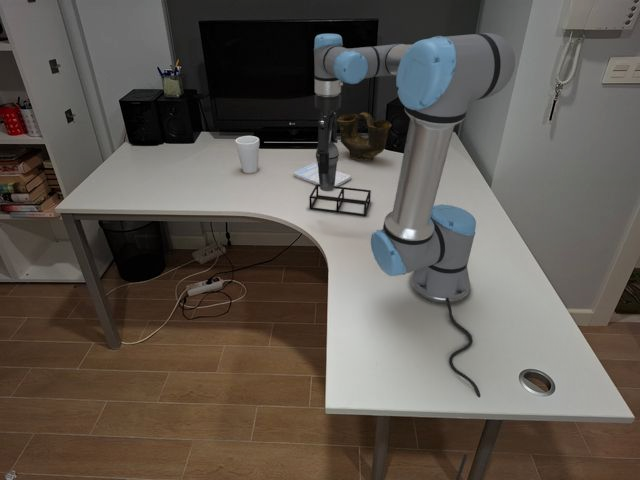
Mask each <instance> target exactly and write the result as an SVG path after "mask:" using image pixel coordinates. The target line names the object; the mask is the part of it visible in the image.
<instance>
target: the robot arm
mask: <svg viewBox="0 0 640 480" xmlns="http://www.w3.org/2000/svg"><path fill="white" fill-rule="evenodd" d="M313 46H314V48H313V55H314V56H313V57H314V58H313V59H314V60H313V61H314V63H313V64H314V93H315V95H314V107H315V109H317V110H320V112H321V113H320V114H319V119H318V121H317V128H318V129H317V147H318V151H317V154H320V173H322V174H329V153H328V146H329V135H330V131H331V130H332V131H331V140H330V142H333V143H334V144H338V140H339V139H337V138H338V136H337V134H338V133H337V132H338V131H337V112H338V110H339V109H340V108H341V106H342V105H341V104H342V95H341V94H340V93H342V87H343V86H344V83H345V84H350V85H355V84H359V83H360V82H362V81H363V80H364V79H371V78H376V77H396V80H395V85H396V88H398V90H397V96H398V99H399V101H400V102H401V104H402V105H403V106H404V107H403V109H404V112H405V114H406V115H407V116H408V117H409V124H408V129H407V134H406V139H405V145H404V149H403V156H402V161H401V167H400V171H399V177H398V182H397V187H396V192H395V197H394V202H393V208H392V211H390V212H389V213H387V214H386V215H385V217H384V220H383V227H382V229H377V230H376V231H374V232H372V234H371V236H370V247H371V252H372V255H373V257H374V259H375V261H376V265H378V267H379V268H380V270H381V271H382V272H383V273H384V274H386V275H387V276H390V277H397V276H402V275H403V276H404V275H406V274H408V273H412V276H411V285H412V288H413V290H414V291H415V292H416V293H417V295H419V296H420V297H421V298H423V299H425V300H427V301H430V302H433V303H437V304H444V305H445V304H446V305H447V309H448V315H449V319H450V321H451V322H452V323H453V325H454V326H455V327H457V329H459V330H460V331H462V333H464V334H465V335H466V336H467V337H468V343H467V344H466V345H465V346H463V347H461V348H459V349H457V350H455V351H453V352H452V353H451V354H450V355H449V358H448V364H449V367H450V368H451V370H452V371H453V372H454V373H455V374H457V375H459V376H460V377H461V378H463V379H464V380H466V381H467V382H468V383H469V384H470V385H471V386H472V388H473V389H474V391H475V394H476V397H477V398H481V391H480V389H479V388H478V386H477V384H476V383H475V382H474V381H473V379H472V378H470V377H469V376H467V375H466V374H465V373H463V372H462V371H460V370H459V369H457V368H456V366H455V365H454V364H453V359H454V358H455V356H457V355H458V354H460V353H463V352H464V351H466V350H468V349H469V348H471V346H472V344H473V337H472V334H471V333H470V331H468V330H467V329H466V328H464V327H463V326H462V325H460V324H459V323H458V322H457V321H456V320H455V319H454V316H453V311H452V306H451V304H456V303H459V302H461V301H463V300H465V299H466V298H467V297H468V295H469V292H470V288H471V283H470V282H471V281H470V277H469V270H468V263H469V260H470V256H471V252H472V247H473V243H474V238H475V235H476V229H477V220H476V218H475V217H474V215H473V214H471V212H469V211H468V210H465V209H463V208H462V207H459V206H455V205H451V204H437V205H435V203H436V198H437V195H438V190H439V186H440V182H441V178H442V175H443V171H444V167H445V164H446V159H447V155H448V153H449V148H450V144H451V141H452V137H453V132H454V128H455V126H456V125H458V124H461V123H462V122H463V121H464V120H465V118H466V116H467V112H468V108H469V105H470V102H471V101H472V102H473V101H478V100H479V101H480V100H483V99H487V98H491V97H492V96H495V95H496V94H498V93H499V92H501V91H502V90H503V89H504V88H505V87H506V86H507V85H508V84H509V83H510V81H511V79H512V78H513V75H514V72H515V68H516V55H515V51H514V48H513V47H512V45H511V43H510V42H509V41H508V40H507V39H506V38H504V37H503V36H502V35H498V34H496V33H490V32H481V33H475V34H474V33H472V34H470V33H469V34H462V35H461V34H459V35H449V36H442V35H437V36H433V37H430V38H425V39H421V40H418V41H416V42H414V43H413V44H405V43H391V44H385V45H375V46H364V47H353V48H346V47H343V46H344V44H343V37H342V36H341V35H340V34H338V33H320V34H317V35H316V36H315V38H314V45H313ZM467 457H468V454H463V456H462V460H461V463H460V466H459V469H458V472H457V475H456V478H455V480H460V478H461V476H462V472H463V470H464V467H465V464H466V462H467Z"/></svg>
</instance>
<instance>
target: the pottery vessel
mask: <svg viewBox="0 0 640 480" xmlns="http://www.w3.org/2000/svg"><path fill="white" fill-rule="evenodd" d="M362 117H363V118H364V119H365V121H366V125H367V130H368V137H365V136H362V135H360V133H359V131H358V124H359V121H360V119H361V118H362ZM336 122H337V123H338V126H339V127H338V128H339V132H340V143H341V144H342V145H343V146H344V147H345V148H346V150H347V151H348V154H349V155H348V158H349V159H351V160H354V161H356V162H357V161H360V160H367V161H369V160H370V161H373V160H374V158H376V157H377V156H378V155H380V154H381V153H382V152H383V151H384V150H385V149H386V147H387V146H386V144H387V140H388V136H389V130H390V128H392V125H393V124H392V123H391V122H389V121H388V120H384V119H380V120H379V119H378V120H374V118H373V116H372V115H371V114H369V113H368V112H365V111H362V112H361V113H359V114H356V113H350V114H349V113H347V114H343V115H341V116H339V117H338V118H336Z"/></svg>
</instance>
